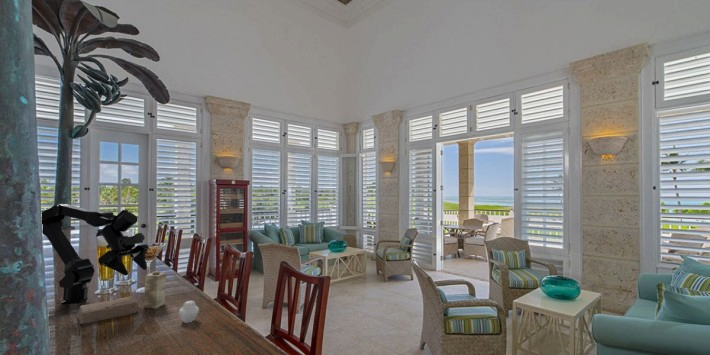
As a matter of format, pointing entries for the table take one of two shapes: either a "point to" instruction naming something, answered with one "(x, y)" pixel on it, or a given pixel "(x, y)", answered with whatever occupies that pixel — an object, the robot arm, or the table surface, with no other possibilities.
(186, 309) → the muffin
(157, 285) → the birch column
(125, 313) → the brick
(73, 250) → the robot arm
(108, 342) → the table surface
